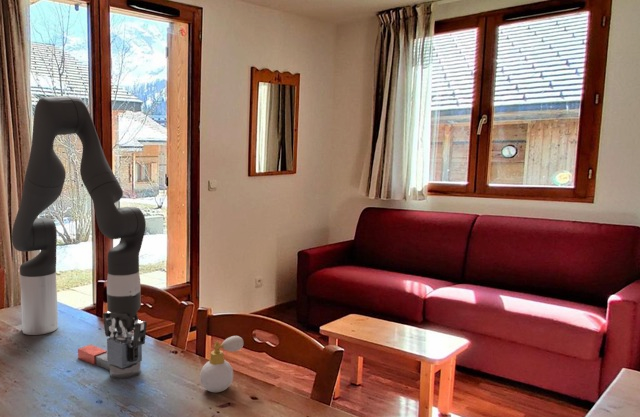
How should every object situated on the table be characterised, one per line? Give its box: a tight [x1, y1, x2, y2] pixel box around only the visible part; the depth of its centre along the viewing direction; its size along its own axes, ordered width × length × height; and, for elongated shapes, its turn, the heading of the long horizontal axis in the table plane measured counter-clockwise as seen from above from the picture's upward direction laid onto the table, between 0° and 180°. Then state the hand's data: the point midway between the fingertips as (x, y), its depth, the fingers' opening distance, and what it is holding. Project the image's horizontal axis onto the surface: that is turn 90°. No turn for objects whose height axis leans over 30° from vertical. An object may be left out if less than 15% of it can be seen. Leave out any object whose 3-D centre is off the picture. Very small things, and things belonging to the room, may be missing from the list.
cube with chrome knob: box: [106, 332, 143, 368], centre depth 124 cm, size 6×6×6 cm
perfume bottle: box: [199, 335, 244, 393], centre depth 117 cm, size 8×10×12 cm
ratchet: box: [77, 344, 142, 380], centre depth 128 cm, size 20×7×6 cm, turn 57°
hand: (125, 357), depth 124 cm, fingers closed on cube with chrome knob, 5 cm apart
